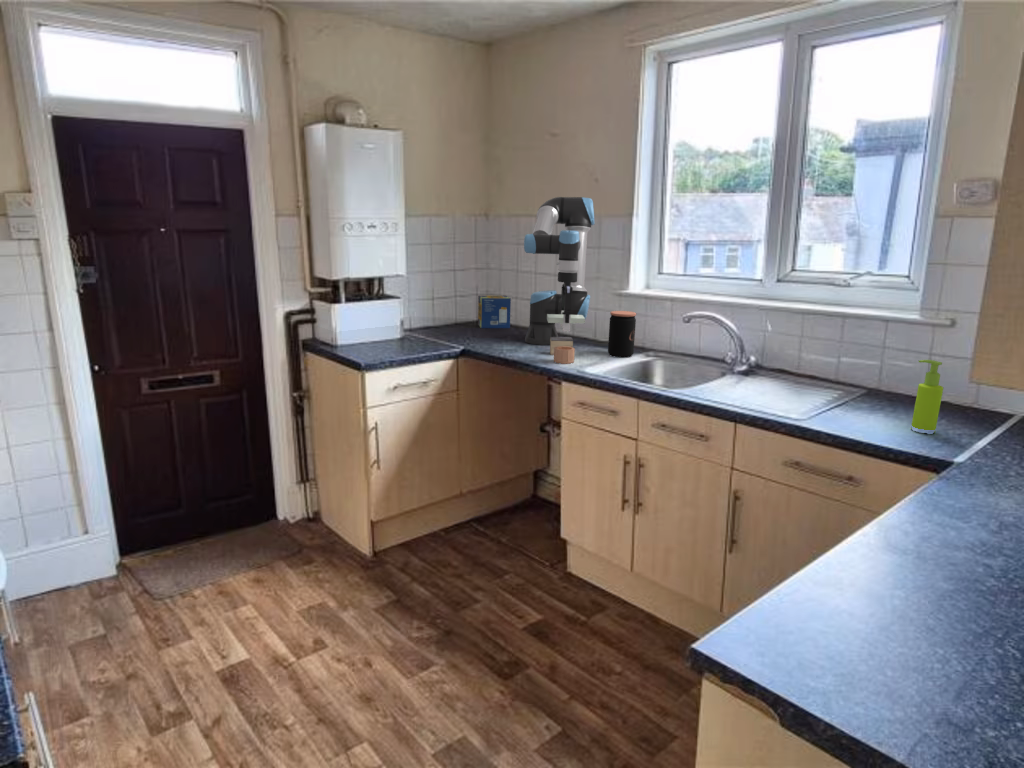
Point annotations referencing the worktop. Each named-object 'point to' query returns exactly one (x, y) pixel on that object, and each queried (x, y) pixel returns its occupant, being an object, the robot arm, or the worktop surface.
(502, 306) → the protein box
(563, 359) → the terracotta faceted pot
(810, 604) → the worktop surface
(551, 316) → the lid
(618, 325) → the coffee jar
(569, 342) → the riser
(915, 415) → the soap dispenser
